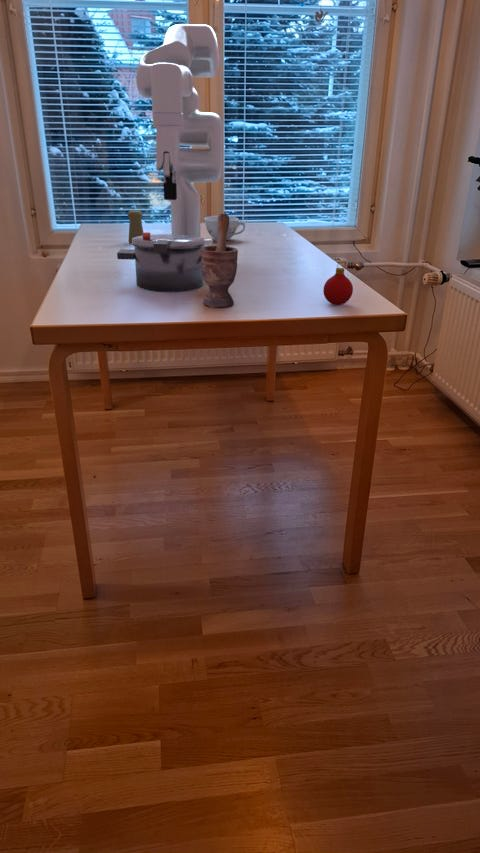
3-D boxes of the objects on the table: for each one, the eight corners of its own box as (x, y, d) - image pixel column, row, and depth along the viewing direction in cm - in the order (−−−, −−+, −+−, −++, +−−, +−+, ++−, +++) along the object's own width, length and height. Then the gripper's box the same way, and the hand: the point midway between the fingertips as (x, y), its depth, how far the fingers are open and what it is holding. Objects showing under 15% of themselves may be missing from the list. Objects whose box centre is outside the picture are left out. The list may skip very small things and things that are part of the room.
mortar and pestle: (196, 296, 146) (195, 213, 137) (230, 295, 148) (231, 212, 139) (204, 309, 136) (203, 220, 127) (240, 307, 138) (241, 219, 129)
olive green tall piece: (141, 244, 207) (139, 211, 201) (125, 243, 208) (123, 211, 202) (147, 241, 212) (145, 209, 207) (131, 240, 213) (129, 208, 208)
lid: (139, 238, 161) (138, 227, 160) (207, 239, 161) (207, 229, 160) (120, 251, 139) (120, 239, 138) (199, 253, 139) (199, 241, 138)
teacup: (203, 242, 212) (203, 219, 208) (205, 236, 223) (205, 215, 219) (244, 243, 212) (245, 220, 208) (244, 237, 223) (245, 215, 219)
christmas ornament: (324, 308, 139) (328, 266, 135) (320, 300, 145) (323, 259, 141) (353, 308, 139) (358, 266, 135) (348, 300, 146) (352, 260, 141)
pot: (128, 273, 167) (126, 237, 162) (221, 275, 167) (221, 239, 162) (114, 290, 150) (111, 251, 145) (217, 293, 149) (217, 253, 145)
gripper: (157, 120, 152) (160, 195, 160) (148, 121, 138) (152, 202, 147) (185, 121, 151) (187, 196, 160) (179, 121, 138) (181, 203, 147)
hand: (170, 199), depth 154 cm, fingers closed
